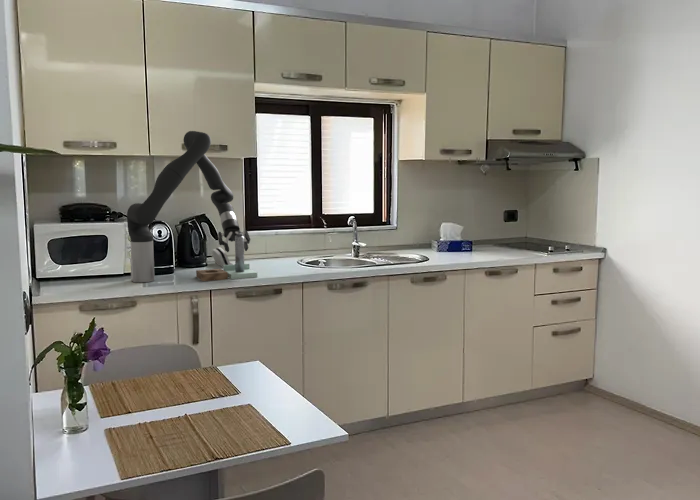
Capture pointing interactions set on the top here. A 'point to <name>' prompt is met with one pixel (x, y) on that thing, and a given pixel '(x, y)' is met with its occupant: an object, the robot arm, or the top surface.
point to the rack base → (236, 275)
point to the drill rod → (239, 253)
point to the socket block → (211, 274)
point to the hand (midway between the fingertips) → (237, 250)
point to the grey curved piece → (220, 257)
